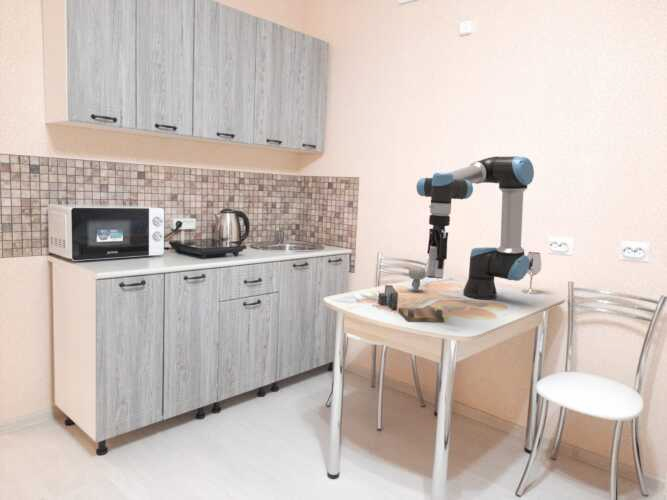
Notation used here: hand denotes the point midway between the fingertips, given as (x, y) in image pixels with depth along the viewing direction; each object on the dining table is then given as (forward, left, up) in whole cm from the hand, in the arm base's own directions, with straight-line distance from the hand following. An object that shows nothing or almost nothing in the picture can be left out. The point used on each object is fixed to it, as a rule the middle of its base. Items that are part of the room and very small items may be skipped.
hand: (435, 275), depth 191 cm
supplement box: (0, 0, -1) cm, 1 cm away
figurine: (-7, -48, -17) cm, 51 cm away
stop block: (+15, -22, -17) cm, 31 cm away
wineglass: (-67, -52, -17) cm, 87 cm away
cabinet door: (+5, -5, -17) cm, 18 cm away
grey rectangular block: (+11, -22, -17) cm, 30 cm away
